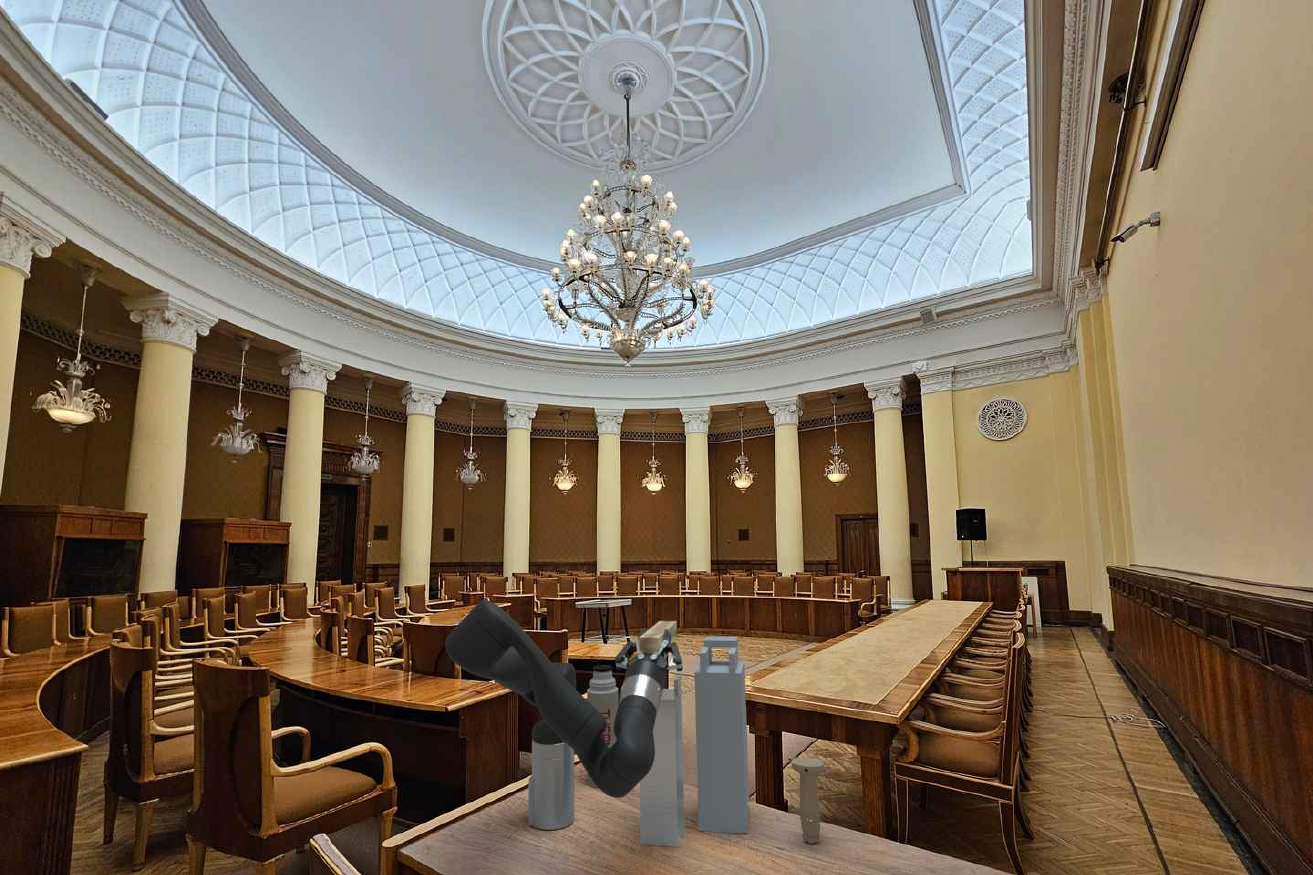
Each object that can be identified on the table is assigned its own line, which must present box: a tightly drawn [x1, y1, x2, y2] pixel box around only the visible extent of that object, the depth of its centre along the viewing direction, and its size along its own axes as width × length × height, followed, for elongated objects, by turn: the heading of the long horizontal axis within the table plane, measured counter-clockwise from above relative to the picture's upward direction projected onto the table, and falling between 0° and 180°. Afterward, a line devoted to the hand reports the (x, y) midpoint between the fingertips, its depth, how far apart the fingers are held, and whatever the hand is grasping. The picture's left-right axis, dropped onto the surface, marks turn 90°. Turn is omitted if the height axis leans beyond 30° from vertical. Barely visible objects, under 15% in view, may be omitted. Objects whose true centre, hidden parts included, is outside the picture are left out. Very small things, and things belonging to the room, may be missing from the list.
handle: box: [791, 757, 825, 845], centre depth 133 cm, size 5×6×15 cm
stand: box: [694, 636, 751, 834], centre depth 144 cm, size 10×12×38 cm
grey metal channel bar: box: [639, 674, 685, 848], centre depth 137 cm, size 8×9×31 cm
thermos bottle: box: [586, 664, 619, 789], centre depth 166 cm, size 8×8×28 cm
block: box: [639, 620, 678, 654], centre depth 141 cm, size 4×22×4 cm, turn 169°
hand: (656, 632), depth 137 cm, fingers closed on block, 4 cm apart
